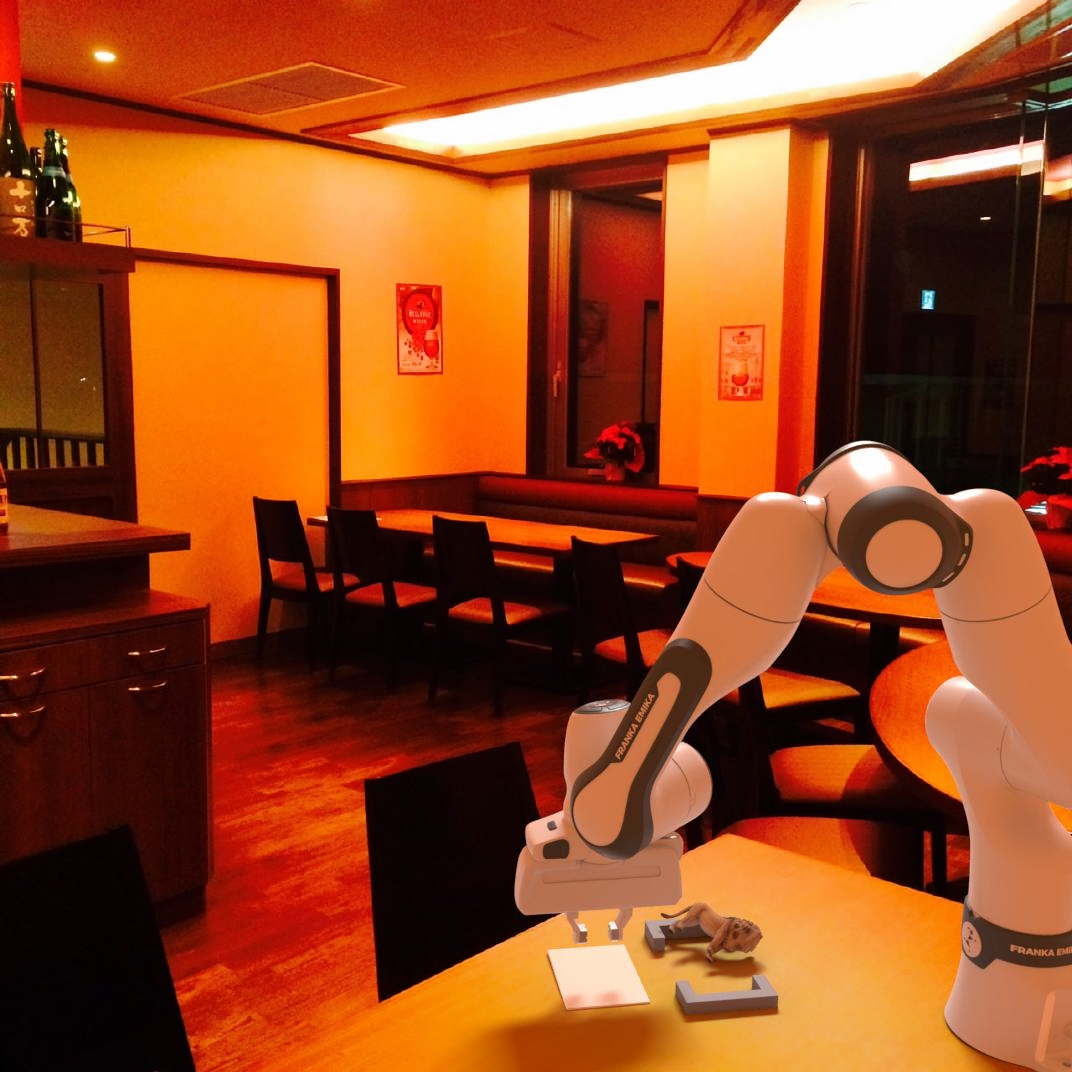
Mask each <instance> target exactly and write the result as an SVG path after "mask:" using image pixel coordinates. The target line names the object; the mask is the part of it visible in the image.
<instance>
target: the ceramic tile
mask: <svg viewBox="0 0 1072 1072" xmlns="http://www.w3.org/2000/svg"><path fill="white" fill-rule="evenodd" d="M547 956H548V959H549V962H550V965H551V968H552V971H553V975H554V978H555V981H556V984H557V986H558V990H559V992H560V995H561V996H560V997H561V999H562V1002H563V1006H564V1008H565V1011H575V1010H577V1011H578V1010H585V1009H596V1008H610V1007H622V1006H632V1005H633V1006H635V1005H645V1004H651V1001H650V999H649V996H648V994H647V992H646V990H645V987H644V985H643V984H642V980H641V978H640V976H639V975H638V972H637V969H636V967H635V965H634V963H633V960H632V958H631V957H630V954H629V952H628V949H627V948H626V946H625V944H611V945H595V946H584V947H583V946H581V947H570V948H569V947H568V948H557V949H555V948H553V949H547Z"/></svg>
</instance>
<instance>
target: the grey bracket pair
mask: <svg viewBox="0 0 1072 1072" xmlns="http://www.w3.org/2000/svg"><path fill="white" fill-rule="evenodd" d="M721 916H722V917H725V918H727V916H726V915H721ZM683 918H684V917H682V918H670V919H666V918H665V919H656V920H655V919H654V920H645V921H644V937H645V938H646V941H647V942H648V944H649V946H650V948H651V950H652V952H653V953H656V952H665V951H666V950H665V949H666V940H671V939H683V938H684V939H685V938H697V937H710V936H709V935H708V934H706V933H705V932H704V931H703V930H702V928H701V926H700V924H699V925H696V926H693V927H684V932H681V931H680V930H679V929H678V927H676V928H675V930H676V933H675V934H671V933H670V931H669V927H670V925H671V924H673V923H674V922H676V921H677V920H681V919H683ZM751 978H752V979H751V989H749V990H748V989H747V990H737V991H725V992H724V991H723V992H711V993H700V994H699V993H698V994H696V993H695V991H694V989H693V987H692V986H691V983H690V981H689V980H677V981H675V992H674V993H675V995H676V998H677V999H678V1002H679V1004H680V1006H681V1007H682V1010H683V1012H684V1013H685V1015H686V1016H691V1015H703V1014H714V1013H715V1014H716V1013H723V1012H725V1013H726V1012H737V1011H747V1010H748V1011H750V1010H751V1011H752V1010H761V1009H772V1008H773V1009H774V1008H778V1007H779V994H778V993H777V991H776V990H775V988H774V987H773V985H772V984H771V982H770V981H769V979H768V978H767V977H766V975H765V974H754V975H752V976H751Z"/></svg>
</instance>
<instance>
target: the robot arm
mask: <svg viewBox="0 0 1072 1072" xmlns="http://www.w3.org/2000/svg"><path fill="white" fill-rule="evenodd" d="M803 487H804V489H803ZM802 491H803V493H802ZM716 545H717V546H716V548H715V549H714V551H713V553H712V555H711V557H710V558H709V561H708V563H707V565H706V566H705V569H704V572H703V573H702V576H701V578H700V580H699V582H698V585H697V587H696V589H695V591H694V592H693V595H692V597H691V599H690V600H689V603H688V605H687V607H686V608H685V612H683V615H682V617H681V619H680V621H679V622H678V624H677V626H676V628H675V630H674V631H673V633H672V635H671V636H670V638H669V639H668V641H667V642H666V644H665V646H664V648H663V649H662V651H661V652H660V654H659V655H658V657H657V659H656V661H655V662H654V664H653V665H652V667H651V668H650V669H649V671H648V673H647V674H646V677H645V678H644V680H643V681H642V683H641V685H640V686H639V688H638V691H637V692H636V694H635V696H634V698H633V699H632V701H631V702H630V701H626V700H622V699H603V700H597V701H593V702H589V703H586V704H584V705H581V706H579V707H577V708H575V710H574V711H572V713H571V714H570V716H569V719H568V723H567V726H566V731H565V732H566V734H565V739H564V740H565V741H564V753H563V754H564V756H563V759H564V760H563V775H564V779H565V783H566V794H565V797H564V801H563V809H562V810H561V811H558V812H555V813H554V814H550V815H548V816H545V817H542V818H540V819H537V820H534V821H531V822H529V823H528V824H526V826H525V840H526V841H525V842H526V845H525V846H524V847H523V848H522V850H520V851H521V852H520V854H519V855H518V861H517V866H516V871H515V880H514V881H515V882H514V900H515V904H516V907H517V909H518V910H519V911H520V912H521V913H522V914H523V915H525V916H530V915H531V916H532V915H533V916H534V915H546V914H560V913H561V914H562V913H564V915H565V917H566V920H567V923H569V925H570V927H571V929H572V938H573V939H572V940H573V943H574V945H581V944H582V945H583V944H587V943H588V938H587V937H588V929H587V928H586V927H587V926H586V925H585V923H578V921H577V920H578V919H579V916H580V915H579V912H592V911H593V912H594V911H605V910H606V911H608V910H618V911H619V912H618V914H617V916H616V918H615V920H614V921H609V922H608V923H607V927H608V928H607V929H608V930H607V936H608V939H609V941H610V942H621V941H623V939H624V929H625V928H626V926H627V924H628V923H629V921H630V920H631V918H632V916H633V909H634V908H635V909H637V908H651V907H653V908H654V907H664V906H665V907H666V906H676V905H677V904H678V903H679V901H680V900H681V899H682V897H683V883H682V882H683V880H682V872H681V865H680V861H681V859H682V858H683V854H684V840H683V837H682V836H681V835H680V833H678V832H676V830H678V829H679V828H681V827H682V826H684V825H686V824H687V823H689V822H691V821H693V820H694V819H697V817H699V816H701V815H702V814H703V813H704V812H705V811H707V809H708V807H709V805H710V803H711V800H712V796H713V790H714V787H713V779H712V774H711V771H710V767H709V766H708V763H707V762H706V760H705V758H704V757H703V755H702V754H701V753H700V752H699V751H698V750H697V749H696V748H695V747H694V746H693V745H691V744H689V743H687V742H685V741H683V739H684V737H685V736H686V733H688V730H689V729H690V728H691V726H692V725H693V723H694V722H695V721H696V720H697V719H698V718H699V717H700V716H701V715H702V714H703V713H704V712H705V711H706V710H707V709H709V707H711V706H712V705H714V704H715V703H716V702H717V701H718V700H720V699H722V698H724V697H725V696H726V695H729V693H731V692H733V691H735V690H736V689H738V688H739V687H741V686H742V685H743V686H744V684H746V683H748V682H750V681H751V680H753V679H755V678H756V677H758V676H759V675H761V674H763V673H764V672H765V671H767V670H768V669H769V668H770V667H771V666H772V665H773V664H774V662H775V661H776V660H777V658H778V657H779V656H780V655H781V654H782V652H783V651H784V650H785V648H787V646H788V645H789V643H790V641H791V640H792V638H793V637H794V635H795V633H796V631H797V629H798V627H799V626H800V623H801V621H802V619H803V616H804V615H805V613H806V611H807V609H808V606H809V605H810V602H811V601H812V600H811V599H812V597H813V595H814V593H815V591H816V590H817V588H819V586H820V585H821V583H822V582H823V581H824V580H825V579H826V578H827V577H829V575H830V574H832V573H833V572H835V571H836V570H838V569H839V568H841V567H844V568H845V570H846V571H847V572H848V574H850V575H851V577H852V578H854V579H855V580H856V581H857V582H858V583H859V584H861V585H862V587H865V589H866V588H867V589H868V590H870V591H872V592H875V593H878V594H881V595H887V596H906V595H912V594H913V595H914V594H918V593H921V592H923V591H927V590H930V589H931V590H932V592H933V594H934V595H933V596H934V599H935V602H936V606H937V609H938V612H939V615H940V616H939V617H940V618H941V622H942V627H943V629H944V632H945V635H946V639H947V641H948V645H949V648H950V652H951V656H952V658H953V661H954V664H955V666H956V667H957V669H958V670H959V672H960V673H961V674H962V675H959V676H953V677H951V678H949V679H947V680H946V681H944V682H943V683H942V684H941V685H940V686H938V687H937V689H936V690H935V691H934V693H933V694H932V695H931V697H930V699H929V701H928V704H927V706H926V710H925V718H924V723H925V724H924V725H925V730H926V731H925V732H926V735H927V739H928V741H929V743H930V745H931V746H932V748H933V749H934V750H935V751H936V752H937V753H938V755H939V756H940V757H941V759H942V760H943V762H944V763H945V765H946V767H947V769H948V770H949V772H950V773H951V776H952V779H954V780H953V781H954V783H955V785H956V788H957V790H958V793H959V796H960V799H961V801H962V802H961V803H962V805H963V809H964V811H965V815H966V820H967V824H968V831H969V839H970V844H969V845H970V846H969V847H970V848H969V849H970V850H969V851H970V855H969V856H970V858H969V859H970V860H969V882H968V893H967V895H965V897H964V900H963V907H962V908H963V909H962V915H961V916H962V918H961V929H960V930H961V931H960V933H961V935H960V937H961V956H960V961H959V964H958V965H959V966H958V970H957V973H956V978H955V981H954V984H953V987H952V990H951V992H950V994H949V997H948V1000H947V1002H946V1003H945V1007H944V1009H943V1015H944V1018H945V1022H946V1024H947V1025H948V1027H949V1028H950V1029H951V1031H952V1032H953V1033H954V1034H955V1035H956V1036H957V1037H958V1038H959V1039H961V1040H962V1041H964V1043H966V1044H967V1045H969V1046H970V1047H972V1048H973V1049H976V1050H978V1051H980V1052H981V1053H983V1054H986V1055H987V1056H989V1057H992V1058H996V1059H998V1060H1000V1061H1003V1062H1006V1063H1010V1064H1015V1065H1018V1066H1022V1067H1024V1068H1025V1067H1026V1068H1028V1069H1032V1070H1033V1071H1036V1072H1072V835H1071V834H1070V832H1069V831H1068V830H1067V829H1066V828H1065V826H1064V825H1063V824H1062V823H1061V822H1060V820H1059V819H1058V818H1057V816H1056V814H1055V813H1054V812H1053V811H1054V810H1052V807H1051V806H1050V803H1051V804H1054V805H1057V806H1059V807H1061V808H1063V809H1067V810H1069V811H1071V812H1072V644H1071V641H1070V640H1069V637H1068V635H1067V631H1066V629H1065V625H1064V622H1063V619H1062V618H1063V617H1062V615H1061V612H1060V609H1059V605H1058V602H1057V599H1056V595H1055V591H1054V587H1053V584H1052V581H1051V576H1050V572H1049V569H1048V566H1047V563H1046V560H1045V557H1044V554H1043V551H1042V549H1041V547H1040V544H1039V542H1038V538H1037V536H1036V534H1035V532H1034V530H1033V528H1032V526H1031V524H1030V521H1029V520H1028V519H1027V516H1026V514H1025V513H1024V511H1023V509H1022V507H1021V506H1020V504H1019V503H1018V501H1016V500H1015V499H1014V498H1013V497H1012V496H1010V495H1008V494H1006V493H1004V492H1003V491H1001V490H1000V491H999V490H996V489H990V488H972V489H966V490H962V491H958V492H956V493H954V494H941V493H938V492H937V490H936V489H935V488H934V486H933V485H932V484H931V483H930V482H929V480H928V479H927V478H926V477H925V476H924V475H923V474H922V473H921V472H920V471H919V470H918V469H916V467H915V466H914V465H913V464H912V463H911V461H910V460H909V459H908V458H907V457H906V456H905V455H904V454H903V453H902V452H900V451H899V450H897V449H895V448H894V447H892V446H890V445H887V444H884V443H881V442H877V441H871V440H859V441H854V442H850V443H848V444H845V445H843V446H841V447H839V448H838V449H836V450H835V451H833V452H832V453H831V454H830V455H829V456H827V457H826V458H825V459H824V461H822V463H820V465H819V466H818V467H817V468H816V469H814V470H813V471H811V472H810V473H808V474H807V475H806V476H805V477H804V478H802V479H801V480H800V481H799V483H798V484H797V489H796V494H795V495H794V494H790V493H787V492H779V491H768V492H763V493H759V494H757V495H755V496H752V497H751V498H750V499H748V500H747V501H746V502H745V503H744V505H743V506H742V507H741V509H740V510H739V511H738V512H737V514H736V515H735V517H734V518H733V520H732V521H731V523H730V524H729V526H728V527H727V528H726V530H725V531H724V534H723V535H722V537H721V539H720V540H719V542H718V543H717V544H716Z"/></svg>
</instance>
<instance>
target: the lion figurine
mask: <svg viewBox="0 0 1072 1072" xmlns="http://www.w3.org/2000/svg"><path fill="white" fill-rule="evenodd" d="M683 914H686V915H685V916H684V917H682V918H683V919H681V918H680V919H681V920H677V921H676V922H674V923H673V924H671V925H670V927H669V931H670V933H671V934H675V933H676V930H675V928H676V927H678V929H679V930H680V931H681V932H684V927H693V926H696V925H699V924H700V926H701V928H702V930H703V931H704V932H705V933H706V934H708V935H709V936H708V937H711V938H713V939H712V940H711V942H710V943H709V944H708V945H707V948H706V954H705V957H706V958H705V959H706V960H707V961H708V962H710V963H713V962H714V961H715V960H714V958H713V956H714V955H715V954H717V953H718V952H720V951H722V950H723V949H726V950H727V951H728V952H731V953H732V952H734V951H737V952H741V953H744V954H748V953H749V952H753V951H755V949H756V948H757V946H758V944H759V943H760V942H761V940H762V939H763V938H764V936H763V935H762V931H761V929H760V927H759V926H758V925H757V924H755V923H754V922H752V921H750V920H747V919H745V918H743V919H741V918H740V917H735V916H727V917H726V918H725V917H722V916H723V915H720V914H718V912H715V910H713V909H712V907H710V906H709V905H708V904H707V903H705V902H695V903H693V904H691V905H688V906H687V907H685V908H684V909H682V910H680V911H678V912H676V913H675V914H667V913H665V912H664V913H663V912H661V913H660V916H661V917H662V918H663V919H665V920H666V919H676V918H677V917H679V916H681V915H683Z"/></svg>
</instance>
